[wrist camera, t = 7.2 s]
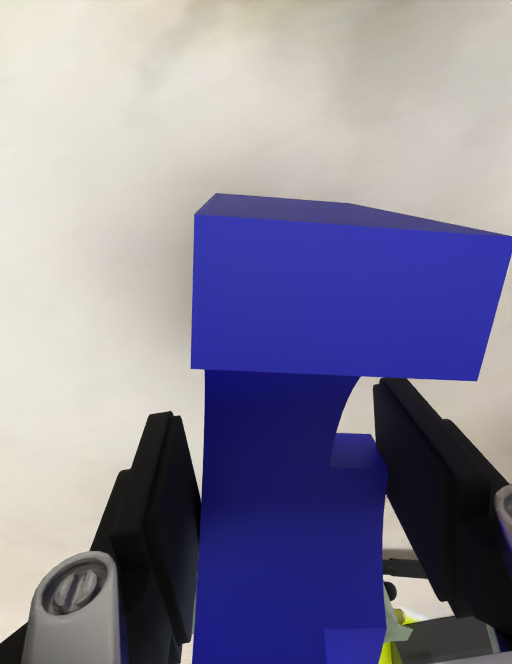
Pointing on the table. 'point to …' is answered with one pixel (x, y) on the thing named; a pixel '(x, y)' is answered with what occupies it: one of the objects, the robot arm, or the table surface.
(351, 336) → the blue semicircular clamp bracket
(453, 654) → the tape dispenser
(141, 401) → the table surface
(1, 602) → the table surface
